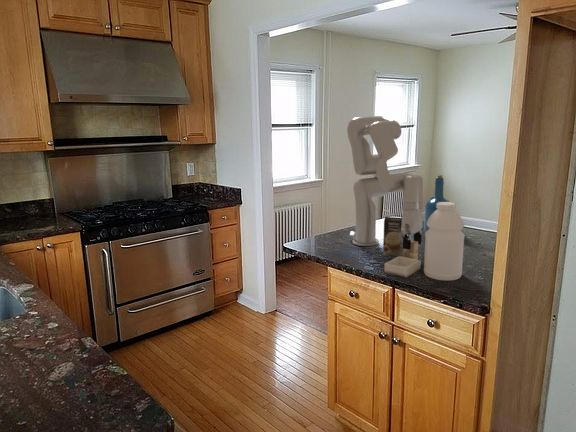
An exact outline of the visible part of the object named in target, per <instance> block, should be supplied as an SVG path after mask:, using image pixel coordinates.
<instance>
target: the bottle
mask: <svg viewBox="0 0 576 432" xmlns="http://www.w3.org/2000/svg"><path fill="white" fill-rule="evenodd" d="M456 207H457V206H456V203H454V202H450V201H449V202H439V203H437V205H436V208H438V209H437V210H436V211H434V212H433V213H432V214H431V216H430V217H429V219H428V221H427V223H426V224H427V226H428V227H429V229H428V230H427V231H426V232H425V231H424V258H423V259H424V260H423V261H424V262H423V263H424V264H423V273H424V275H425V276H427V277H428V278H430V279H434V280H438V281H446V282H447V281H457V280H458V279H460V278H461V277H462V275H463V262H464V246H465V237H466V236H465V234H464V232H462V230H463V228H464V227H465V224H464V221H463V219H462V217H461V215H460V214H459V213H458V211H457V210H456Z"/></svg>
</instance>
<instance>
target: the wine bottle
mask: <svg viewBox="0 0 576 432" xmlns="http://www.w3.org/2000/svg"><path fill="white" fill-rule="evenodd" d="M444 183H445V182H444V177H443V175H442V174H437V175H436V178H435V180H434V194H433V195H434V196H432V197H430V198H429V199H428V200H427V201H426V202H425V204H424V220H423V221H424V222H423V232H424V233H425V232H426V231H427V230H428V229H429V227H428V226H427V224H426V223H427V221H428V219H429V217H430V216H431V214H432V213H433V212H434V211H436V210H437V209H438V208H436V205H437V203H439V202H450V200H448V199H447V198H445V197H444Z"/></svg>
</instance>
